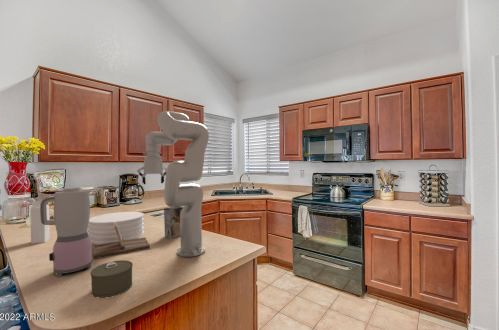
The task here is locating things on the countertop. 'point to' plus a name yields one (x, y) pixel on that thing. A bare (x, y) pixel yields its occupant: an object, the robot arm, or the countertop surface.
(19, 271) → the countertop surface
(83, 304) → the countertop surface
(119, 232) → the tile
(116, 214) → the plate stack
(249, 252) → the countertop surface
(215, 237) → the countertop surface
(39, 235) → the milk
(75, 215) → the blender
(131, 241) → the walnut board
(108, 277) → the can
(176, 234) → the coffee box
